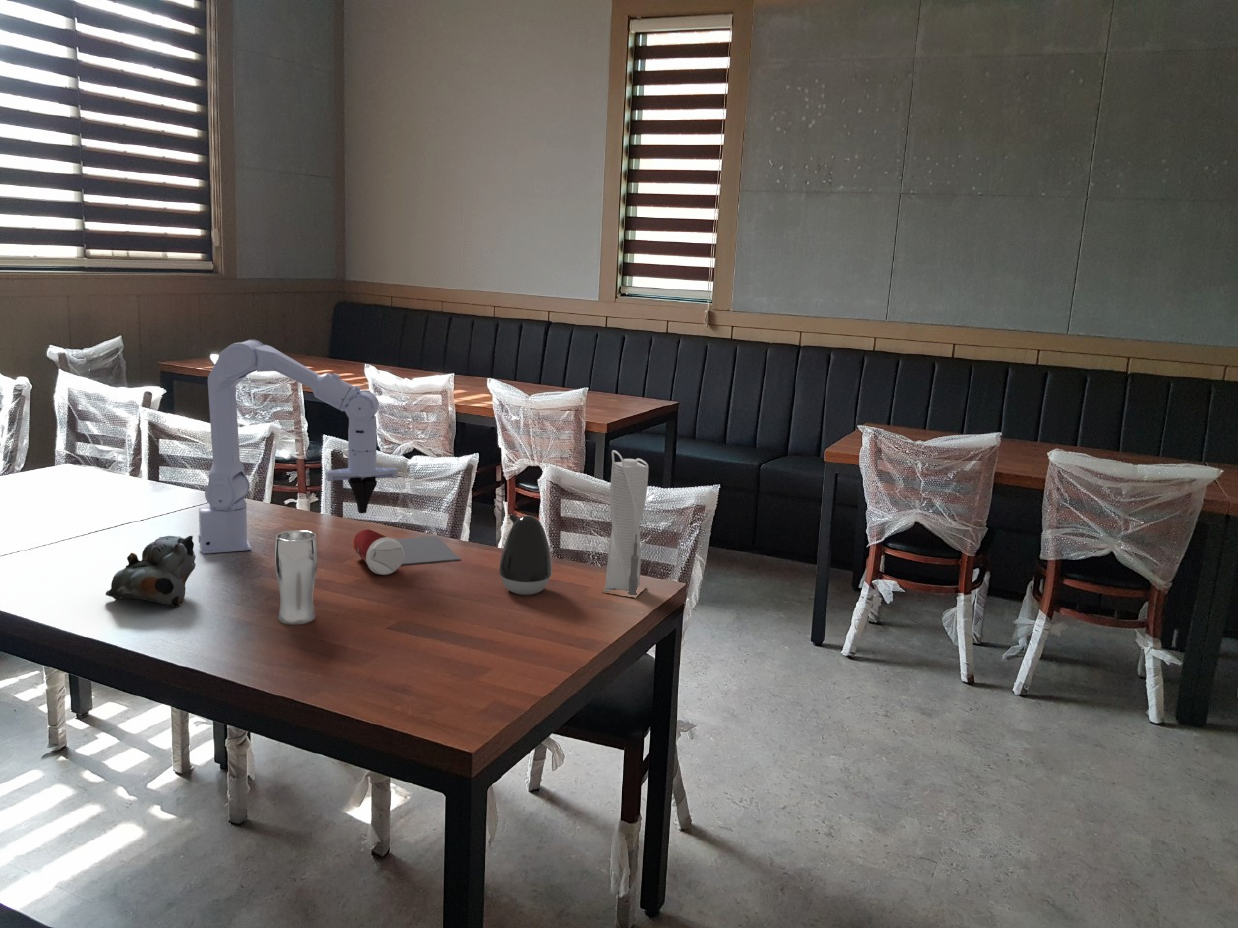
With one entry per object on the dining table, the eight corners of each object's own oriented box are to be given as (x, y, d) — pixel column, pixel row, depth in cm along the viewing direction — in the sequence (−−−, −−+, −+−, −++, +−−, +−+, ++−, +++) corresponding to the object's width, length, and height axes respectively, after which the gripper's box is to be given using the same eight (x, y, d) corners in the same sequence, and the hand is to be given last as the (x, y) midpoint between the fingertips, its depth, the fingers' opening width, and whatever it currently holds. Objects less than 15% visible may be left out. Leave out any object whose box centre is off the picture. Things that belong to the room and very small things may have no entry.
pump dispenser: (527, 578, 192) (531, 506, 189) (561, 592, 185) (565, 518, 182) (487, 588, 185) (490, 513, 182) (520, 603, 178) (523, 525, 175)
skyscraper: (595, 591, 187) (603, 453, 181) (609, 580, 194) (617, 446, 189) (635, 598, 184) (644, 458, 178) (648, 586, 191) (657, 451, 186)
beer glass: (293, 629, 159) (293, 543, 156) (266, 619, 162) (265, 535, 159) (326, 617, 165) (326, 535, 162) (299, 608, 168) (298, 527, 165)
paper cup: (342, 555, 196) (363, 572, 185) (353, 520, 197) (374, 534, 185) (378, 563, 201) (400, 579, 189) (388, 528, 201) (411, 543, 189)
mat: (375, 567, 193) (375, 566, 193) (357, 543, 209) (357, 541, 209) (460, 560, 201) (460, 558, 201) (436, 537, 217) (436, 535, 217)
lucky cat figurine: (100, 595, 168) (129, 521, 172) (170, 613, 174) (196, 541, 178) (111, 597, 156) (142, 517, 160) (185, 616, 162) (213, 539, 166)
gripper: (330, 454, 191) (330, 519, 194) (401, 452, 198) (400, 514, 200) (324, 447, 197) (324, 510, 200) (393, 445, 204) (392, 506, 207)
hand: (362, 512), depth 201 cm, fingers closed
